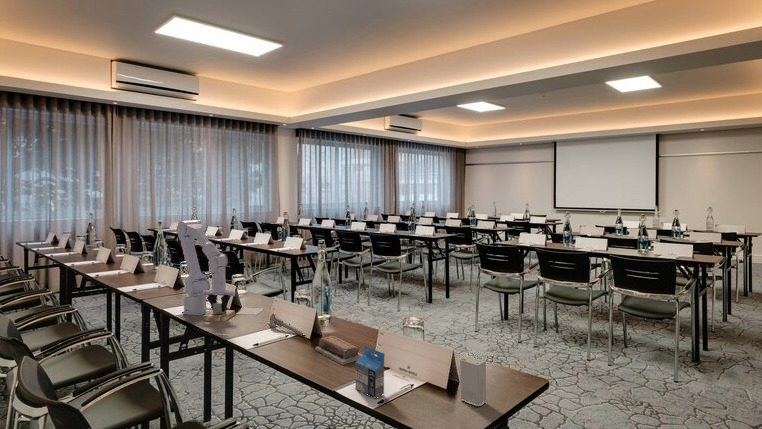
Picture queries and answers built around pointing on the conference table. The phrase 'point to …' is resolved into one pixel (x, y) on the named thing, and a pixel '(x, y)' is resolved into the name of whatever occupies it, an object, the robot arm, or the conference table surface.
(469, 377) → the skincare box
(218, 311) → the key peg
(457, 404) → the conference table surface
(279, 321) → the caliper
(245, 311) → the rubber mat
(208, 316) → the holder block
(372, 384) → the label tape cartridge
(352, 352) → the packaged product
